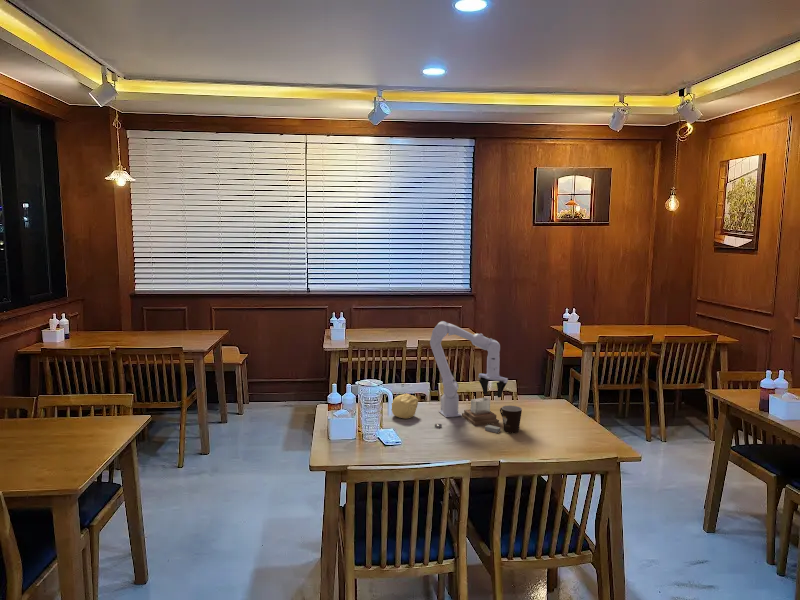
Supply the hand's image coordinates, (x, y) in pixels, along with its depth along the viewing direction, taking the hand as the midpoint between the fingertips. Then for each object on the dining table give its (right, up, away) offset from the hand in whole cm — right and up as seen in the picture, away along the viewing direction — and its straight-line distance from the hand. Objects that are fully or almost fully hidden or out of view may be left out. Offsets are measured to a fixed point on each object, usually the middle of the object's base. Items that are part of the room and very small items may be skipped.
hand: (492, 395), depth 259 cm
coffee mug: (+5, -12, -16) cm, 21 cm away
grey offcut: (-3, -13, -17) cm, 22 cm away
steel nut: (-26, -12, -13) cm, 31 cm away
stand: (-6, -11, -3) cm, 13 cm away
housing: (-6, -7, -3) cm, 10 cm away
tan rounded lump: (-41, -10, +1) cm, 42 cm away
